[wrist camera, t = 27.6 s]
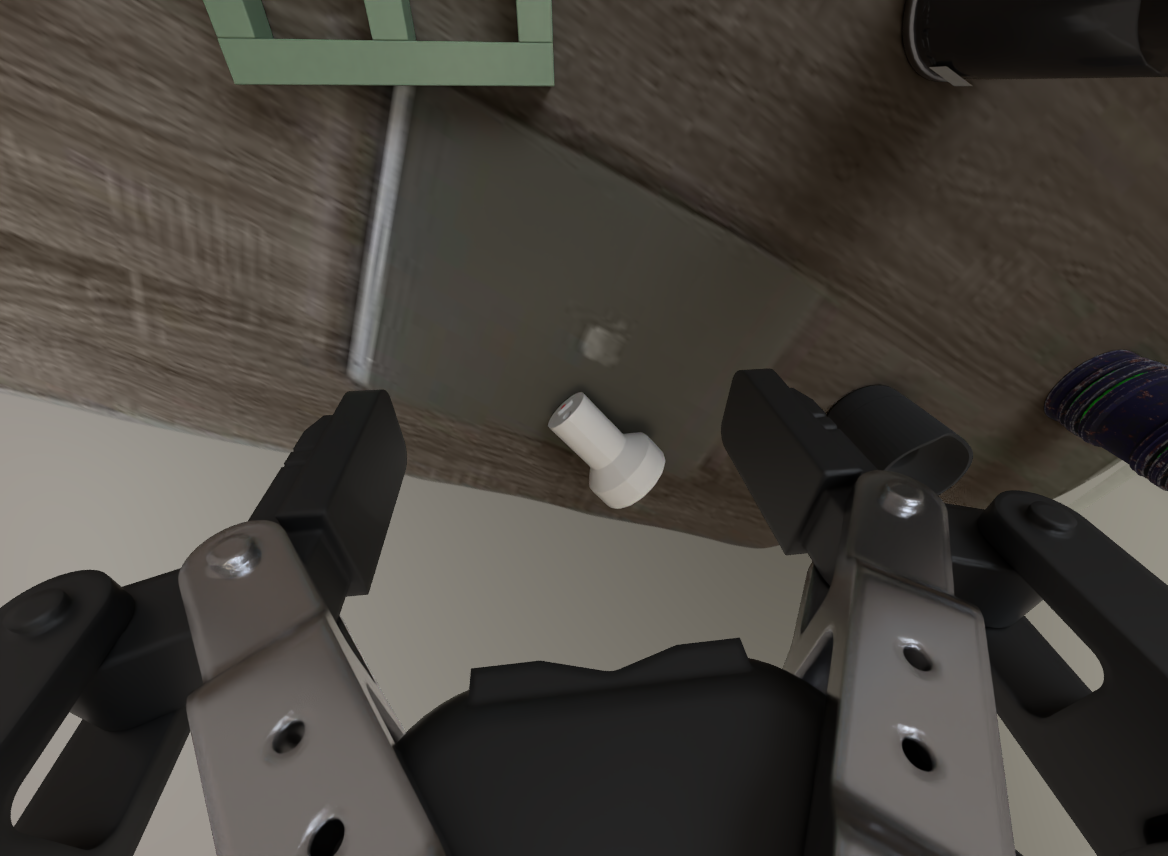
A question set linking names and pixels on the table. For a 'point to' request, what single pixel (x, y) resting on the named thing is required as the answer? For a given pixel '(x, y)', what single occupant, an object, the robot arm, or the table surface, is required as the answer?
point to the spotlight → (608, 452)
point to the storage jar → (1118, 409)
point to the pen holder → (902, 437)
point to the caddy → (382, 51)
